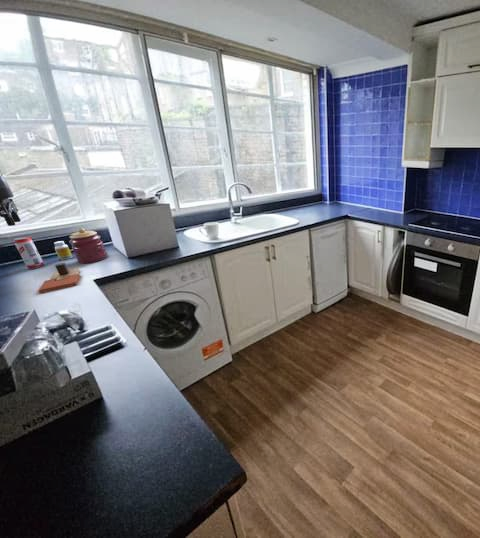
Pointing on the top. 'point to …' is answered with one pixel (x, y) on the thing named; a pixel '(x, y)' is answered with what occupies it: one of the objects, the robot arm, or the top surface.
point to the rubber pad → (59, 283)
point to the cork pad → (71, 272)
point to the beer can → (28, 252)
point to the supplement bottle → (62, 250)
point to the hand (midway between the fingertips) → (14, 223)
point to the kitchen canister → (87, 246)
